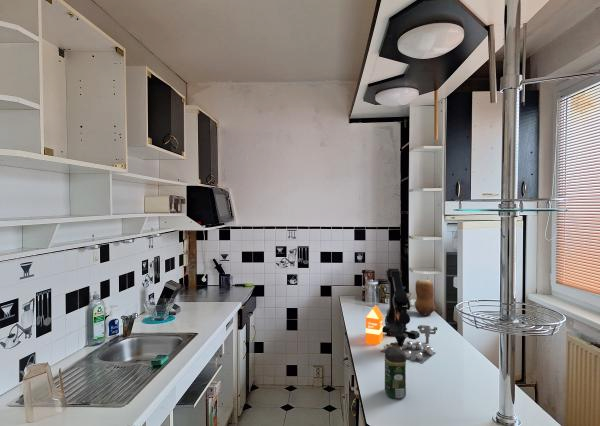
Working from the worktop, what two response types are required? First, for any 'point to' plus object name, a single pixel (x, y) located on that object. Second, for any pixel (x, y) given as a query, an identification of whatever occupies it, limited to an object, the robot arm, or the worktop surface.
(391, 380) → the coffee jar
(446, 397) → the worktop surface
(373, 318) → the orange juice
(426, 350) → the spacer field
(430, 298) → the butternut squash
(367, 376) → the worktop surface
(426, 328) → the mechanical component
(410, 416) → the worktop surface
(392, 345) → the nut
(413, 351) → the mat
